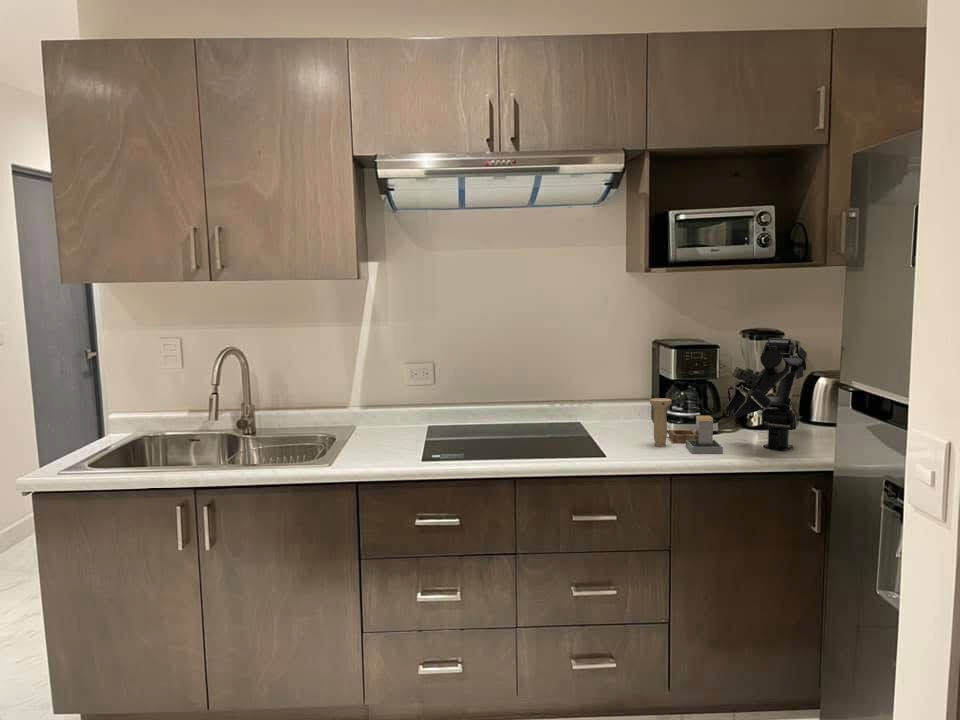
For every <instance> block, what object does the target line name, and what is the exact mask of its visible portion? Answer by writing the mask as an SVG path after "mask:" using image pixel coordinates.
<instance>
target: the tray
mask: <svg viewBox="0 0 960 720" xmlns="http://www.w3.org/2000/svg"><path fill="white" fill-rule="evenodd" d="M685 447H686V449H687V450H688V451H689V452H690V453H691V454H692V455H723V454H724V453H723V452H724V447H723V445H721V444H720V443H719V442H718V441H717V440H716V439H713V442H712V447H696V440H686V444H685Z"/></svg>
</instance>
